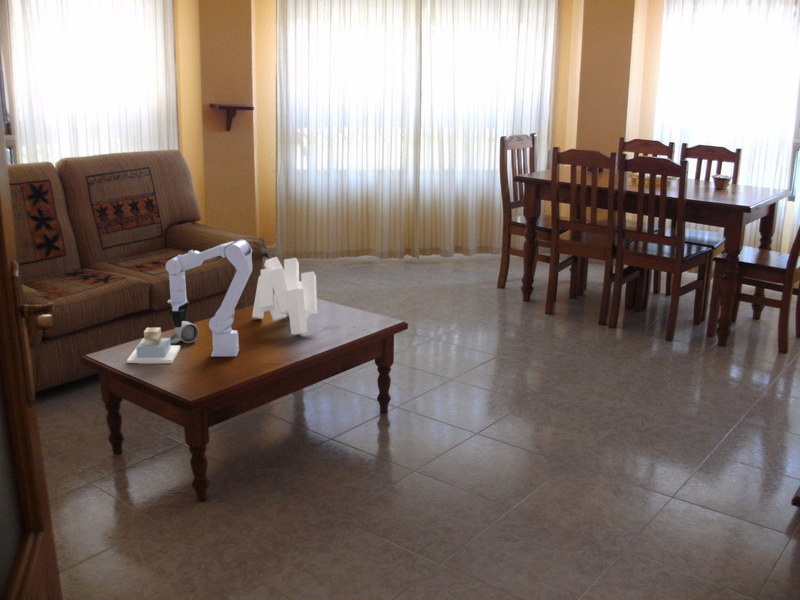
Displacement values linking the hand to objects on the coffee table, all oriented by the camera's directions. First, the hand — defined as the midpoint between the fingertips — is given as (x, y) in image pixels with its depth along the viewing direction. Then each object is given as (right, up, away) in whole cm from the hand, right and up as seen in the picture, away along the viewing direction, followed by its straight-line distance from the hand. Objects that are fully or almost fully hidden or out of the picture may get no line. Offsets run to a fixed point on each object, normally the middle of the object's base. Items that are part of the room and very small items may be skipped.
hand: (180, 324), depth 312 cm
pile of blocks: (+35, -1, +35) cm, 49 cm away
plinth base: (-9, -12, -3) cm, 15 cm away
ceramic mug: (-2, -7, +13) cm, 15 cm away
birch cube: (-9, -7, -5) cm, 12 cm away
